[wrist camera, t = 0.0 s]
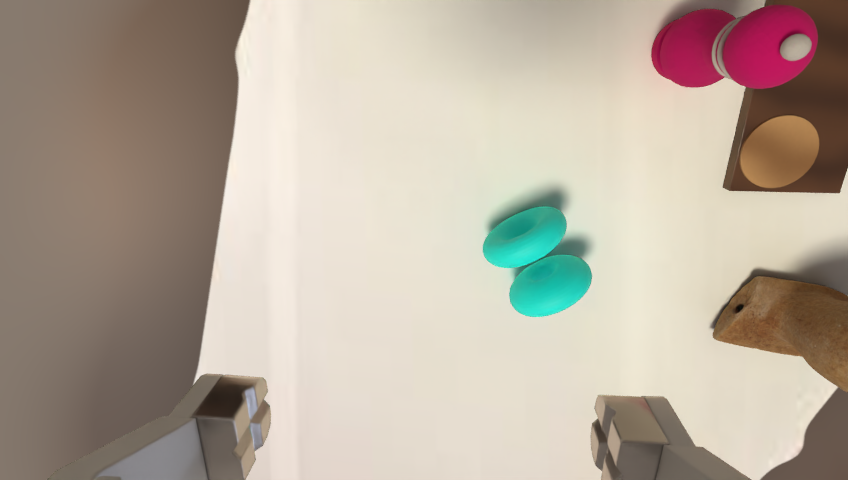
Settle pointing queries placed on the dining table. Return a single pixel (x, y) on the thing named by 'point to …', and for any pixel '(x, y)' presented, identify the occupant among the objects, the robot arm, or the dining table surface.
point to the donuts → (538, 262)
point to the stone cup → (791, 323)
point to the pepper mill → (736, 47)
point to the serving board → (798, 117)
